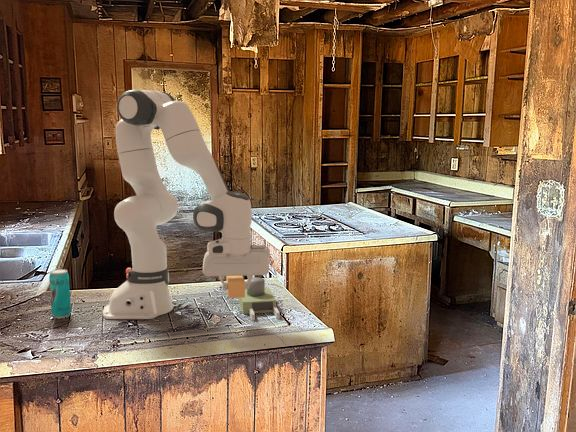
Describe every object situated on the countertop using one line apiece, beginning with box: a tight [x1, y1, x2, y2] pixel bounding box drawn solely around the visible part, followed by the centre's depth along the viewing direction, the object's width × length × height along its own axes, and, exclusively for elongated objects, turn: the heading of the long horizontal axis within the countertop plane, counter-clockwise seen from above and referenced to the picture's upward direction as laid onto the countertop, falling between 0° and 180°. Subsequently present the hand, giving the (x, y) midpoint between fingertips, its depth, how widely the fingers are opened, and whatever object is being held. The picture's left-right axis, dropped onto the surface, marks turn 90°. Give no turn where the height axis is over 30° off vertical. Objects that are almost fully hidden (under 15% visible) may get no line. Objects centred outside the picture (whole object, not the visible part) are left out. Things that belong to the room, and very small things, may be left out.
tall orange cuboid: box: [225, 276, 246, 299], centre depth 165 cm, size 5×7×5 cm
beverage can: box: [48, 268, 72, 320], centre depth 171 cm, size 6×6×15 cm
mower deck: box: [237, 276, 281, 322], centre depth 179 cm, size 11×20×9 cm, turn 12°
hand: (235, 288), depth 165 cm, fingers closed on tall orange cuboid, 5 cm apart
